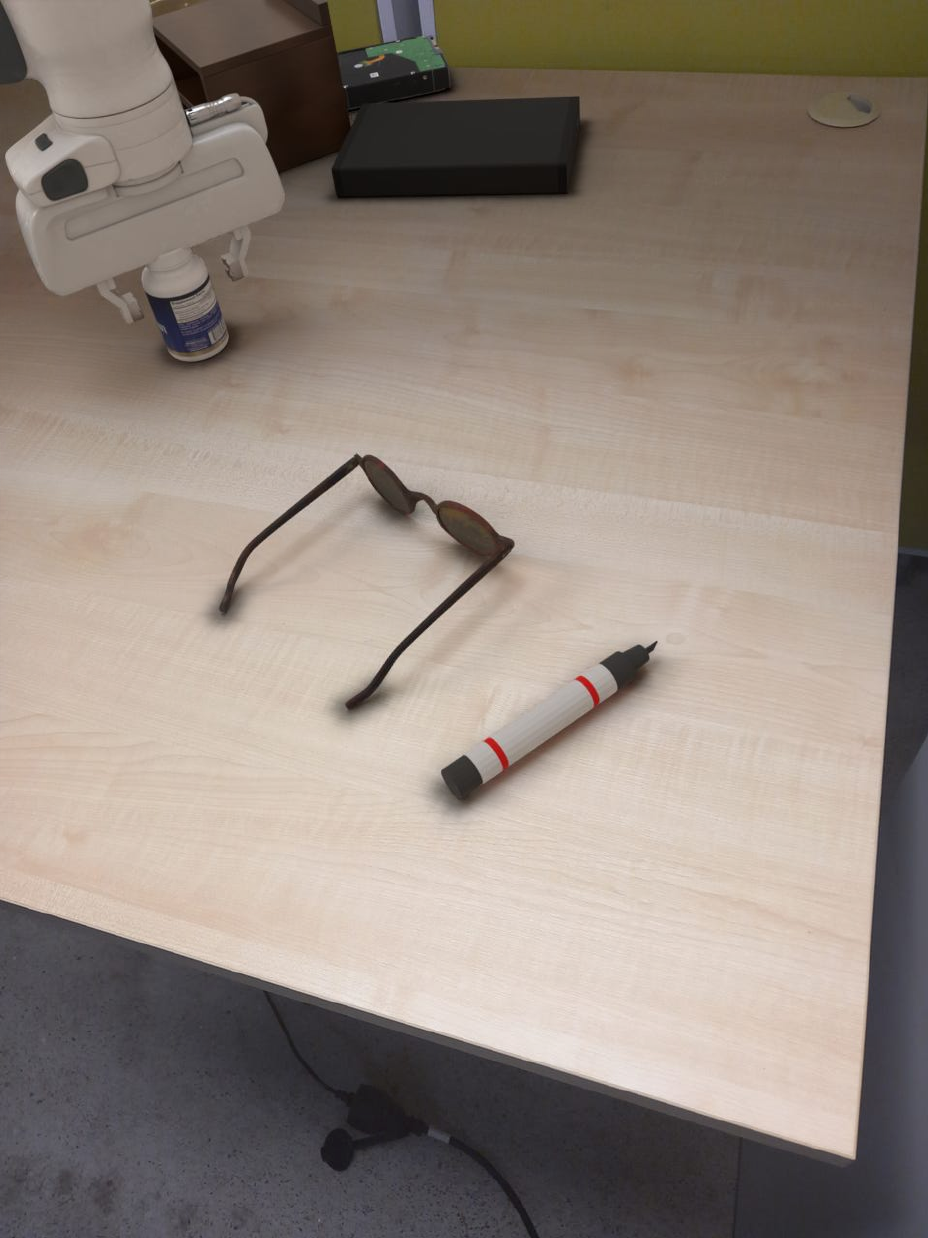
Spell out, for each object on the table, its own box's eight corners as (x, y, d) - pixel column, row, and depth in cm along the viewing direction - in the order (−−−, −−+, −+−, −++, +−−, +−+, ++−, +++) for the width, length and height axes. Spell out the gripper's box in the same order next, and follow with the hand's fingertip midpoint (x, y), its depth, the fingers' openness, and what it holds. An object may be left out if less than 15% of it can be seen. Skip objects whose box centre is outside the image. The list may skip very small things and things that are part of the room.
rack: (234, 188, 106) (193, 44, 96) (182, 134, 116) (139, -2, 105) (354, 144, 110) (327, 1, 99) (294, 95, 119) (263, -40, 109)
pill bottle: (161, 340, 90) (121, 237, 82) (218, 319, 91) (184, 216, 83) (178, 371, 86) (138, 267, 79) (238, 349, 88) (204, 244, 80)
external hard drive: (367, 130, 111) (362, 102, 109) (580, 124, 107) (580, 94, 105) (337, 197, 103) (331, 168, 100) (568, 193, 99) (567, 163, 96)
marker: (463, 805, 57) (459, 787, 56) (442, 782, 58) (438, 763, 57) (667, 663, 62) (668, 643, 60) (644, 644, 63) (645, 623, 61)
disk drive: (325, 118, 115) (453, 89, 116) (320, 93, 113) (450, 63, 114) (313, 81, 122) (434, 54, 122) (308, 56, 119) (431, 29, 120)
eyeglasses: (517, 572, 68) (513, 518, 64) (359, 719, 62) (344, 670, 58) (364, 484, 75) (351, 431, 71) (208, 608, 69) (185, 557, 65)
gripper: (240, 72, 79) (284, 237, 90) (-18, 162, 74) (61, 325, 85) (272, 98, 75) (314, 267, 86) (3, 195, 70) (83, 361, 81)
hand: (187, 297), depth 85 cm, fingers open, 8 cm apart
